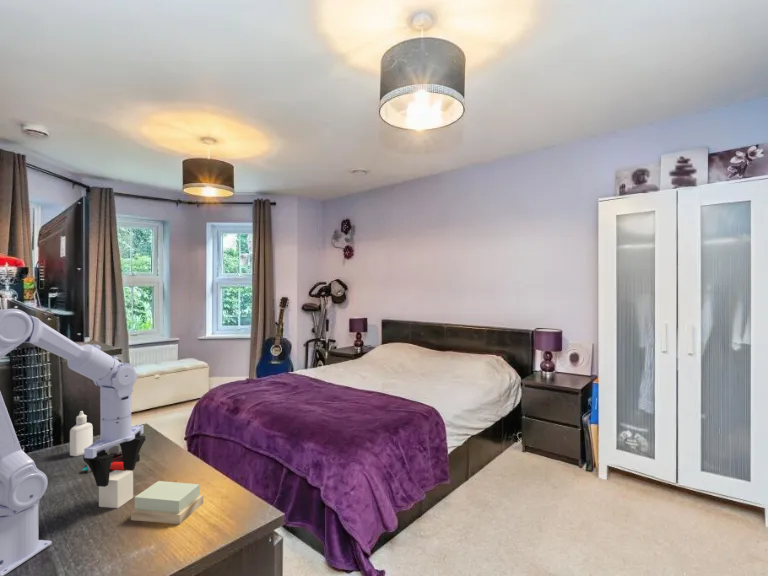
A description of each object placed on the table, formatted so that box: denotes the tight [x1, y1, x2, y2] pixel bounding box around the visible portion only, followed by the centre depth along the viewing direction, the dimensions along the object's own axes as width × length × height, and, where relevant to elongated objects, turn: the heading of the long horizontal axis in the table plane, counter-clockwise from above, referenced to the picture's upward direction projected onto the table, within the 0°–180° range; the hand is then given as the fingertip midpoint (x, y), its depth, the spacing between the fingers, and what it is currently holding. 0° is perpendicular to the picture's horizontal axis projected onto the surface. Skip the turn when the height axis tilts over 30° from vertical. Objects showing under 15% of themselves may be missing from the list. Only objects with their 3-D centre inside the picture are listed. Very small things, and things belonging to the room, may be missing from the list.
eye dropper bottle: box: [69, 410, 94, 457], centre depth 117 cm, size 4×6×12 cm
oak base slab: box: [130, 494, 204, 525], centre depth 86 cm, size 8×11×2 cm
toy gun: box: [81, 444, 141, 474], centre depth 108 cm, size 10×12×5 cm
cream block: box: [98, 470, 134, 509], centre depth 90 cm, size 4×4×6 cm
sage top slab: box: [134, 480, 201, 513], centre depth 87 cm, size 7×10×2 cm
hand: (116, 477), depth 90 cm, fingers open, 7 cm apart
